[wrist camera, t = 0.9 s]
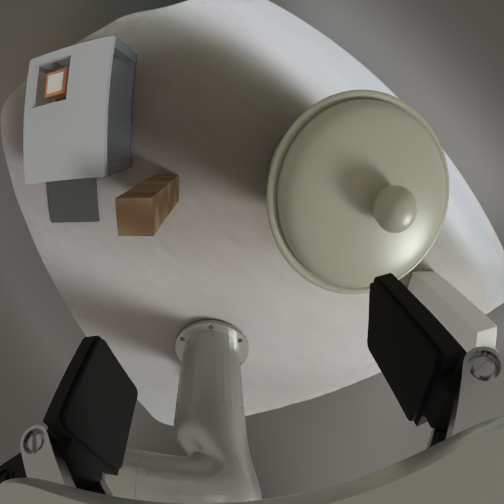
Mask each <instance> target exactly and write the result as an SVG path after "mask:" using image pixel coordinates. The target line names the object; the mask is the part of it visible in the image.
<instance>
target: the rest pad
mask: <svg viewBox="0 0 504 504" xmlns="http://www.w3.org/2000/svg"><path fill="white" fill-rule="evenodd" d="M47 189H48V200H49V209H50V216H51V222H96V221H99V213H98V201H97V187H96V177H94V178H81V179H70V180H60V181H51V182H47Z"/></svg>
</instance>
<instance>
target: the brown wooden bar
mask: <svg viewBox="0 0 504 504" xmlns="http://www.w3.org/2000/svg"><path fill="white" fill-rule="evenodd" d="M178 201H179V175H170V176H153V177H151V178H149V179H147V180H146V181H144V182H142V183H140V184H139V185H137V186H135V187H133V188H132V189H130V190H128V191H127V192H125V193H124V194H122V195H120V196H119V197H117V198H115V203H116V216H117V228H118V236H154V235H155V233H156V232H157V230H158V229H159V227H160V226H161V224H162V223H163V222H164V220H165V219H166V217H167V216H168V214H169V213H170V212H171V210H172V209H173V208H174V206H175V205H176V203H177V202H178Z"/></svg>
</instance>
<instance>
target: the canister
mask: <svg viewBox="0 0 504 504" xmlns="http://www.w3.org/2000/svg"><path fill="white" fill-rule="evenodd" d="M269 166H270V172H269V177H268V183H267V212H268V218H269V223H270V227H271V230H272V233H273V236H274V239H275V241H276V243H277V245H278V247H279V249H280V251H281V253H282V255H283V256H284V258H285V259H286V260H287V262H288V263H289V264H290V265H291V267H292V268H293V269H294V270H295V271H296V272H297V273H298V274H300V275H301V276H302V277H303V278H305V279H306V280H308V281H309V282H311V283H312V284H314V285H316V286H318V287H320V288H323V289H326V290H329V291H333V292H337V293H345V294H358V293H366V292H370V284H371V283H372V282H374V278H375V277H377V276H381V275H384V274H388V273H392V274H393V275H394V276H395V277H396V278H397V279H398V280H399V279H401V278H402V277H404V276H405V275H407V274H408V273H409V272H410V271H411V270H413V269H414V268H415V267H416V266H417V265H418V264H419V263H420V262H421V261H422V259H423V258H424V257H425V256H426V254H427V253H428V252H429V250H430V249H431V247H432V246H433V244H434V242H435V240H436V239H437V237H438V234H439V232H440V230H441V227H442V225H443V222H444V219H445V215H446V211H447V206H448V199H449V175H448V168H447V163H446V159H445V155H444V152H443V149H442V147H441V144H440V142H439V140H438V138H437V136H436V135H435V133H434V131H433V130H432V128H431V127H430V126H429V124H428V123H427V122H426V120H425V119H424V118H423V117H422V116H421V115H420V114H419V113H418V112H417V111H416V110H415V109H413V108H412V107H411V106H410V105H408V104H407V103H405V102H404V101H402V100H400V99H398V98H396V97H394V96H391V95H389V94H386V93H382V92H378V91H372V90H352V91H346V92H341V93H338V94H335V95H332V96H329V97H327V98H325V99H323V100H321V101H319V102H317V103H316V104H314V105H313V106H311V107H310V108H309V109H307V110H306V111H305V112H304V113H303V114H302V115H301V116H299V118H298V119H297V120H296V121H295V122H294V123H293V124H292V125H291V127H290V128H289V129H288V131H287V132H286V134H285V135H284V137H283V139H281V140H280V143H279V144H278V146H277V147H276V148H275V152H274V154H273V155H272V160H271V163H270V165H269Z"/></svg>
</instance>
